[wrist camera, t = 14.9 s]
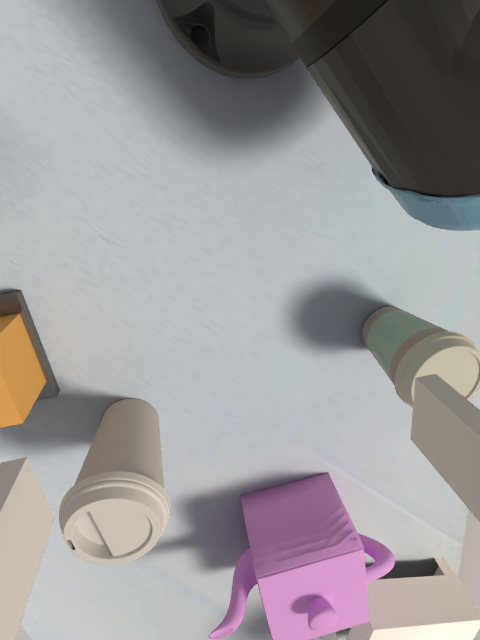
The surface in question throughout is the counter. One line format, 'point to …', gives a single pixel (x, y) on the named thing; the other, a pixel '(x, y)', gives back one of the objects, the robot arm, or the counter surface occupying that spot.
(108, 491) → the coffee cup
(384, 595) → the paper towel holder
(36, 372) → the hollow block
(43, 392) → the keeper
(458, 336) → the coffee cup
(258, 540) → the teapot
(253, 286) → the counter surface
